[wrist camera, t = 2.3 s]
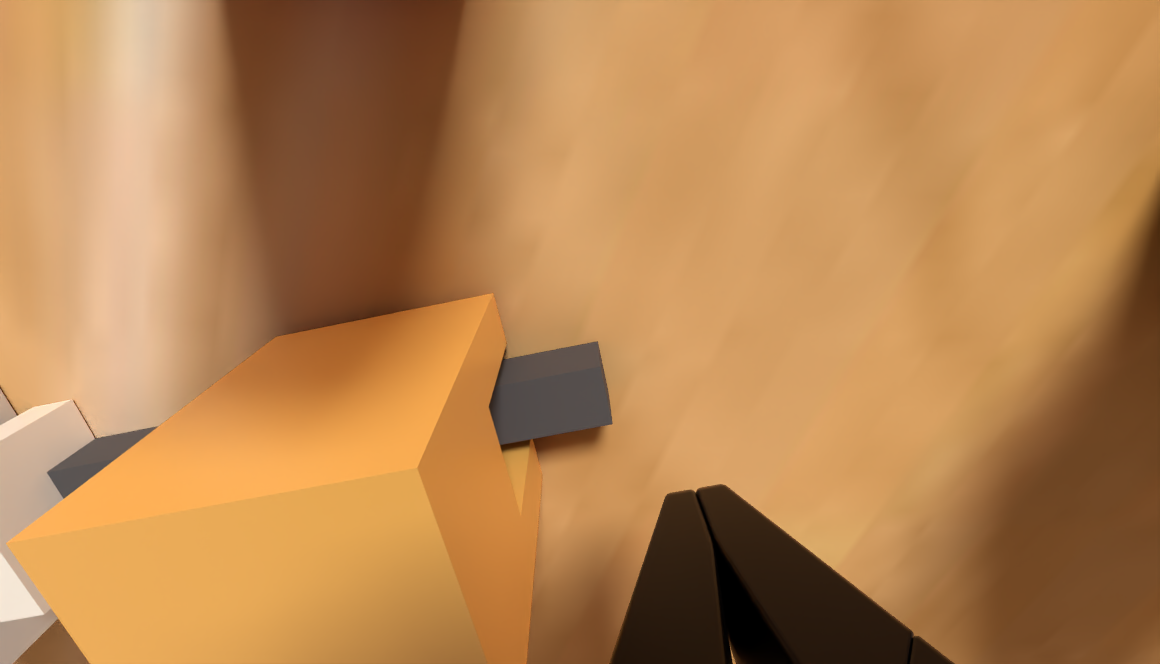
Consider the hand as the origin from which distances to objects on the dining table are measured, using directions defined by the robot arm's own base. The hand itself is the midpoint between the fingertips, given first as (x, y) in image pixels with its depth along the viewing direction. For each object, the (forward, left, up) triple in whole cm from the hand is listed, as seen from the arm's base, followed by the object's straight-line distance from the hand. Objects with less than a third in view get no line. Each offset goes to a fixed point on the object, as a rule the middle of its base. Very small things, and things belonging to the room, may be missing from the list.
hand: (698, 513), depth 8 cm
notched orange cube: (+6, 0, -6) cm, 8 cm away
